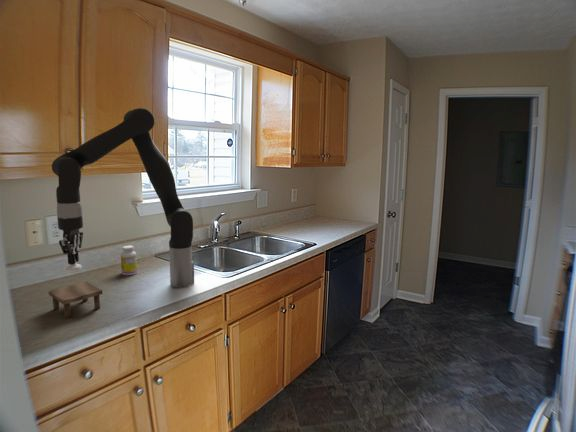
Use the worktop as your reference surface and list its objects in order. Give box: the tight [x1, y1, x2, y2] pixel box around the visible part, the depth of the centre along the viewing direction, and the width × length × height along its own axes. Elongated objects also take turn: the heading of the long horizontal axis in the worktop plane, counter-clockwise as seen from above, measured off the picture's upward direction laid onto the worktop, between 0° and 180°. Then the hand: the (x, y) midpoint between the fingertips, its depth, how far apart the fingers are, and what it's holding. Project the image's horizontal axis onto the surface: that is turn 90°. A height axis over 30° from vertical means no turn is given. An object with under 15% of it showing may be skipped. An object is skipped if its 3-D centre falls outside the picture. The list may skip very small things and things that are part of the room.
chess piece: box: [65, 244, 83, 271], centre depth 132 cm, size 5×5×10 cm
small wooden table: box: [48, 281, 103, 320], centre depth 135 cm, size 13×13×7 cm
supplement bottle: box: [120, 245, 138, 276], centre depth 173 cm, size 7×7×13 cm
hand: (73, 262), depth 133 cm, fingers closed on chess piece
